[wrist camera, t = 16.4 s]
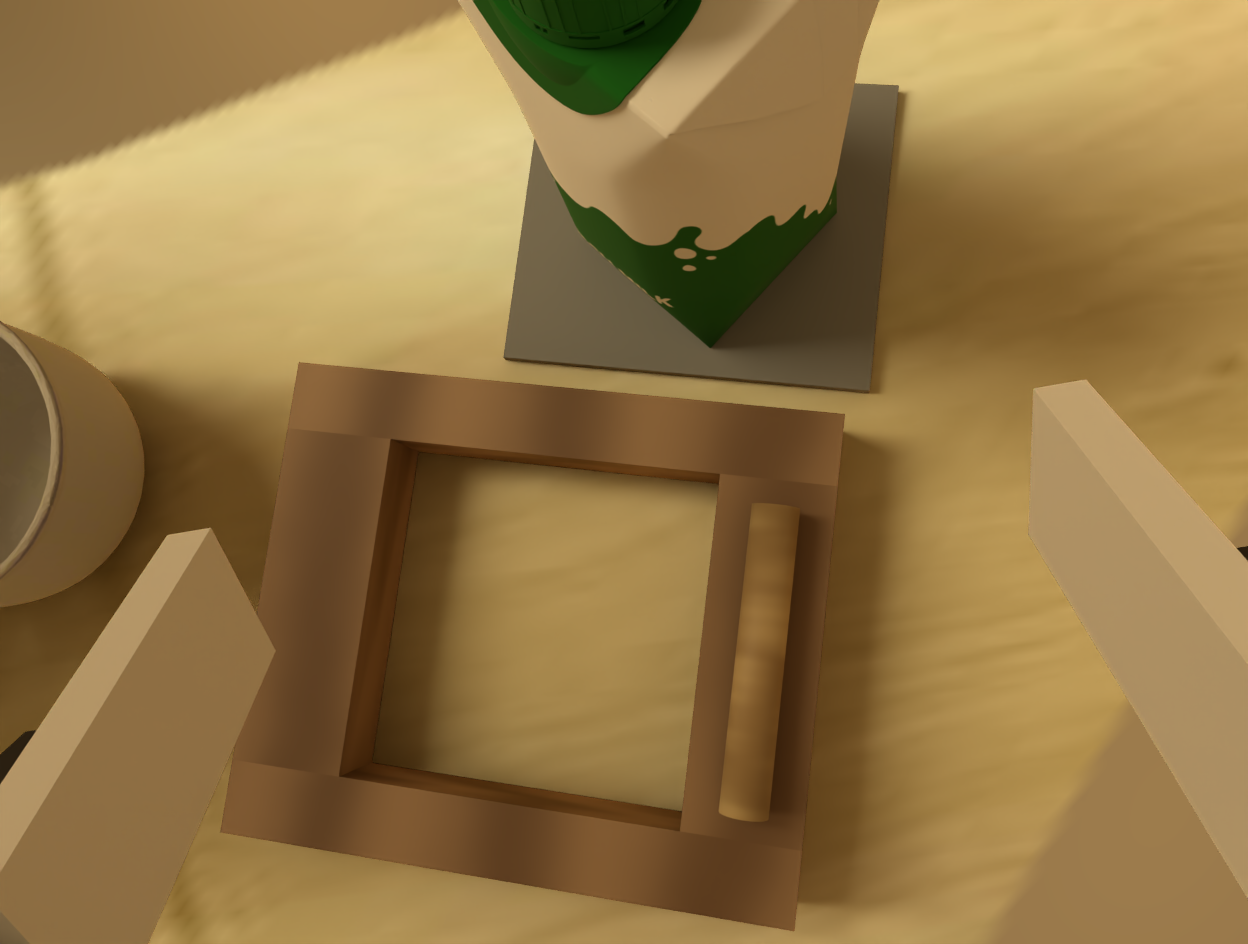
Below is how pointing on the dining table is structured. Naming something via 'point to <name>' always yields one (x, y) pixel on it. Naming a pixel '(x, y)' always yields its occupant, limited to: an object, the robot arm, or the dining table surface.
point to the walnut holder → (515, 815)
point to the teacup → (60, 468)
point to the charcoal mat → (765, 333)
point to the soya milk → (686, 132)
